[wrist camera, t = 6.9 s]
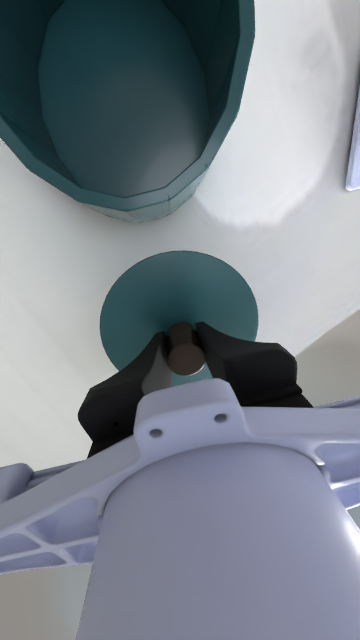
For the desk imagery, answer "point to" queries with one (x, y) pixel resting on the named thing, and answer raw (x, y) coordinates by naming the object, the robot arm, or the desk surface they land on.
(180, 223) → the desk surface
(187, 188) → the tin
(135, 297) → the lid
